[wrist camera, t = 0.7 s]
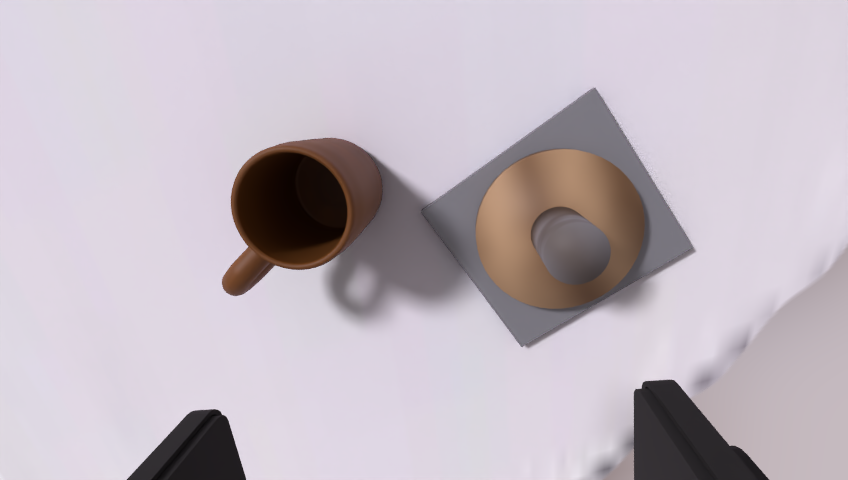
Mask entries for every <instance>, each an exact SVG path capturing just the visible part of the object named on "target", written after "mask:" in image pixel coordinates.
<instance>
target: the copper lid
mask: <svg viewBox="0 0 848 480" xmlns="http://www.w3.org/2000/svg"><path fill="white" fill-rule="evenodd" d="M475 228H476V243H477V249H478V253H479V257H480V260H481V262H482V264H483V266H484V269H485V270H486V272H487V274H488V275H489V277H490V278H491V279H492V280H493V282H494V283H495V284H496V285H497V286H498V287H499V288H500V289H501V290H503V291H504V292H505V293H507V294H508V295H509V296H511V297H512V298H514V299H516V300H518V301H520V302H523V303H525V304H528V305H531V306H536V307H540V308H549V309H562V308H570V307H575V306H579V305H582V304H585V303H588V302H591V301H593V300H595V299H597V298H599V297H601V296H602V295H604V294H605V293H607V292H608V291H610V290H611V289H612V288H614V287H615V286H616V285H617V284H618V283H619V282H620V281H621V280H622V279H623V278H624V277H625V276H626V274H627V273H628V272H629V270H630V269H631V268H632V266H633V264H634V262H635V261H636V259H637V257H638V254H639V252H640V249H641V246H642V242H643V238H644V229H645V219H644V211H643V206H642V203H641V200H640V197H639V194H638V192H637V191H636V189H635V187H634V185H633V184H632V182H631V181H630V180H629V178H628V177H627V176H626V175H625V174H624V173H623V172H622V171H621V170H620V169H619V168H618V167H616V166H615V165H614V164H612V163H611V162H609V161H607V160H605V159H604V158H602V157H599V156H597V155H594V154H591V153H588V152H584V151H579V150H574V149H550V150H544V151H540V152H537V153H533V154H530V155H528V156H526V157H524V158H521V159H520V160H518V161H516V162H515V163H513V164H511V165H510V166H509V167H508V168H506V169H505V170H504V171H503V172H502V173H501V174H500V175H499V176H498V177H497V178H496V179H495V180H494V181H493V182H492V184H491V185H490V186H489V188H488V189H487V191H486V193H485V195H484V197H483V199H482V201H481V204H480V206H479V210H478V213H477V218H476V226H475Z"/></svg>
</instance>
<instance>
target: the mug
mask: <svg viewBox="0 0 848 480" xmlns="http://www.w3.org/2000/svg"><path fill="white" fill-rule="evenodd" d="M381 199H382V181H381V176H380V173H379V171H378V168H377V166H376V164H375V163H374V161H373V160H372V158H371V157H370V156H369V155H368V154H367V153H366V152H365V151H364V150H363V149H361V148H360V147H359V146H357V145H355V144H353V143H351V142H349V141H346V140H343V139H337V138H323V139H311V140H302V141H293V142H287V143H283V144H279V145H276V146H274V147H270V148H267V149H265V150H262V151H260V152H259V153H257V154H255V155H254V156H252V157H251V158H250V159H249V160H248V161H247V162H246V163H245V164H244V165H243V166H242V168H241V169H240V171H239V172H238V174H237V177H236V179H235V181H234V185H233V188H232V194H231V209H232V215H233V219H234V222H235V225H236V228H237V230H238V232H239V234H240V235H241V237H242V238H243V240H244V241H245V243H246V244H247V245H248V246H249V247H248V248H247V249H246V250H245V251H244V252H243V253H242V254H241V255H240V257H239V258H238V259H237V260H236V261H235V262H234V263H233V264H232V265H231V267H230V268H229V269H228V270H227V272H226V273H225V275H224V276H223V279H222V285H223V289H224V290H225V291H226V293H228V294H230V295H233V296H238V295H242V294H244V293H246V292H247V291H248V290H250V289H251V288H252V287H253V286H254V285H256V284H257V283H258V282H259V281H260V280H261V279H262V278H263V277H264V276H265V275H266V274H267V273H268V272H269V271H270V270H271V269H272V268H273V267H274V266H275V265H276V266H280V267H283V268H288V269H295V270H304V269H311V268H316V267H318V266H321V265H323V264H325V263H327V262H329V261H331V260H332V259H333V258H335V257H336V256H337V255H339V254H340V253H341V252H343V251H344V250H345V249H346V248H347V247H348V246H349V245H350V244H351V243H352V242H353V241H354V240H355V239H356V238H357V237H358V236H359V234H360V233H361V232H362V231H363V230H364V228H365V227H366V226H367V225H368V224H369V223H370V221H371V220H372V219H373V218H374V216H375V214H376V213H377V211H378V208H379V206H380V203H381Z"/></svg>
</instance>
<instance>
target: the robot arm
mask: <svg viewBox="0 0 848 480" xmlns="http://www.w3.org/2000/svg"><path fill="white" fill-rule="evenodd" d="M127 480H246V477H245V474H244V471H243V467H242V464H241V461H240V458H239V454H238V451H237V448H236V444H235V441H234V438H233V435H232V431H231V428H230V425H229V421H228V419H227V417H226V416H224V415H222V414H221V412H220V411H219V410H216V409H213V410H197V411H192V412H190V413H189V414H188V415H187V416H186V417H185V418H184V419H183V420H182V421H181V422H180V423H179V424H178V425H177V426H176V427H175V429H174V430H173V431H172V432H171V433H170V434H169V435H168V436H167V437H166V438H165V439H164V440H163V441H162V443H161V444H160V445H159V446H158V447H157V448H156V449H155V450H154V451H153V452H152V453H151V454H150V455H149V456H148V458H147V459H146V460H145V461H144V462H143V463H142V464H141V465H140V466H139V467H138V468H137V469H136V470H135V471H134V473H133V474H132V475H131V476H130V477H129V478H128V479H127ZM634 480H769V479H768V478H767V477H766V476H765V475H764V474H763V472H762V471H761V470H760V469H759V468H758V467H757V465H756V464H755V463H754V462H753V461H752V460H751V459H750V457H749V456H748V455H747V454H746V453H745V452H744V451H743V450H742V449H740V448H738V447H736V446H729V445H728V444H727V442H726V441H725V440H724V439H723V438H722V436H721V435H720V434H719V433H718V432H717V431H716V429H715V428H714V427H713V426H712V425H711V423H710V422H709V421H708V420H707V418H706V417H705V416H704V415H703V414H702V413H701V411H700V410H699V409H698V408H697V407H696V405H695V404H694V403H693V402H692V400H691V399H690V398H689V397H688V396H687V394H686V393H685V392H684V391H683V390H682V388H681V387H680V386H679V385H678V384H677V383H676V382H675V381H674V380H659V381H645V382H643V384H642V389H636V390H635V391H634Z"/></svg>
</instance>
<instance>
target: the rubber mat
mask: <svg viewBox="0 0 848 480" xmlns="http://www.w3.org/2000/svg"><path fill="white" fill-rule="evenodd" d="M550 149H574V150H579V151H584V152H588V153H591V154H594V155H597V156H599V157H602V158H604V159H605V160H607V161H609V162H611V163H612V164H614V165H615V166H616V167H618V168H619V169H620V170H621V171H622V172H623V173H624V174H625V175H626V176H627V177H628V178H629V180H630V181H631V182H632V184H633V185H634V187H635V189H636V191H637V192H638V194H639V197H640V200H641V203H642V206H643V211H644V219H645V229H644V238H643V242H642V246H641V249H640V252H639V254H638V257H637V259H636V261H635V262H634V264H633V266H632V268H631V269H630V270H629V272H628V273H627V274H626V276H625V277H624V278H623V279H622V280H621V281H620V282H619V283H618V284H617V285H616V286H615V287H614V288H612V289H611V290H610V291H608V292H607V293H605V294H604V295H602V296H601V297H599V298H597V299H595V300H593V301H591V302H588V303H585V304H582V305H579V306H575V307H570V308H562V309H549V308H540V307H536V306H531V305H528V304H525V303H523V302H520V301H518V300H516V299H514V298H512V297H511V296H509V295H508V294H507V293H505V292H504V291H503V290H501V289H500V288H499V287H498V286H497V285H496V284H495V283H494V282H493V280H492V279H491V278H490V277H489V275H488V274H487V272H486V270H485V269H484V266H483V264H482V262H481V260H480V257H479V253H478V249H477V243H476V228H475V226H476V218H477V213H478V210H479V206H480V204H481V201H482V199H483V197H484V195H485V193H486V191H487V189H488V188H489V186H490V185H491V184H492V182H493V181H494V180H495V179H496V178H497V177H498V176H499V175H500V174H501V173H502V172H503V171H504V170H505V169H506V168H508V167H509V166H510V165H511V164H513V163H515V162H516V161H518V160H520V159H521V158H524V157H526V156H528V155H530V154H533V153H537V152H540V151H544V150H550ZM421 213H422V214H423V215H424V217H425V218H426V219H427V221H428V222H429V223H430V225H431V226H432V227H433V229H434V230H435V231H436V233H437V234H438V235H439V237H440V238H441V239H442V241H443V242H444V243H445V245H446V246H447V248H448V249H449V250H450V252H451V253H452V254H453V256H454V257H455V258H456V260H457V261H458V262H459V264H460V265H461V266H462V268H463V269H464V270H465V272H466V273H467V274H468V276H469V277H470V278H471V280H472V281H473V282H474V284H475V285H476V286H477V288H478V289H479V291H480V292H481V293H482V295H483V296H484V297H485V299H486V300H487V301H488V303H489V304H490V305H491V307H492V308H493V309H494V311H495V312H496V313H497V315H498V316H499V317H500V319H501V320H502V321H503V323H504V324H505V325H506V327H507V328H508V329H509V331H510V332H511V334H512V335H513V336H514V338H515V339H516V340H517V342H518V343H519V344H520V346H521V347H523V346H524V345H526V344H528V343H530V342H531V341H533V340H535V339H536V338H538V337H540V336H542V335H543V334H545V333H547V332H548V331H550V330H552V329H554V328H555V327H557V326H559V325H561V324H562V323H564V322H566V321H567V320H569V319H571V318H573V317H574V316H576V315H578V314H580V313H581V312H583V311H585V310H586V309H588V308H590V307H592V306H593V305H595V304H597V303H598V302H600V301H602V300H604V299H605V298H607V297H609V296H611V295H612V294H614V293H616V292H617V291H619V290H621V289H623V288H624V287H626V286H628V285H630V284H631V283H633V282H635V281H636V280H638V279H640V278H642V277H643V276H645V275H647V274H648V273H650V272H652V271H654V270H655V269H657V268H659V267H661V266H662V265H664V264H666V263H667V262H669V261H671V260H673V259H674V258H676V257H678V256H680V255H681V254H683V253H685V252H686V251H688V250H690V249H692V248H693V246H692V244H691V243H690V241H689V239H688V238H687V236H686V235H685V233H684V231H683V230H682V228H681V226H680V225H679V223H678V222H677V220H676V218H675V217H674V215H673V213H672V212H671V210H670V208H669V207H668V205H667V204H666V202H665V200H664V199H663V197H662V195H661V194H660V192H659V191H658V189H657V187H656V186H655V184H654V182H653V181H652V179H651V178H650V176H649V174H648V173H647V171H646V169H645V168H644V166H643V165H642V163H641V161H640V160H639V158H638V156H637V155H636V153H635V152H634V150H633V148H632V147H631V145H630V143H629V142H628V140H627V138H626V137H625V135H624V134H623V132H622V130H621V129H620V127H619V125H618V124H617V122H616V121H615V119H614V117H613V116H612V114H611V112H610V111H609V109H608V108H607V106H606V104H605V103H604V101H603V99H602V98H601V96H600V95H599V93H598V91H597V90H596V88H593V89H591V90H590V91H588V92H587V93H585V94H584V95H583V96H581V97H580V98H578V99H577V100H576V101H574V102H573V103H571V104H570V105H569V106H567V107H566V108H564V109H563V110H562V111H560V112H559V113H557V114H556V115H554V116H553V117H552V118H550V119H549V120H547V121H546V122H545V123H543V124H542V125H540V126H539V127H538V128H536V129H535V130H533V131H532V132H531V133H529V134H528V135H526V136H525V137H524V138H522V139H521V140H519V141H518V142H517V143H515V144H514V145H512V146H511V147H510V148H508V149H507V150H505V151H504V152H503V153H501V154H500V155H498V156H497V157H496V158H494V159H493V160H491V161H490V162H489V163H487V164H486V165H484V166H483V167H482V168H480V169H479V170H477V171H476V172H475V173H473V174H472V175H470V176H469V177H468V178H466V179H465V180H463V181H462V182H461V183H459V184H458V185H456V186H455V187H454V188H452V189H451V190H449V191H448V192H447V193H445V194H444V195H442V196H441V197H439V198H438V199H437V200H435V201H434V202H432V203H431V204H430V205H428V206H427V207H425V208H424V209H423V210H422V211H421Z"/></svg>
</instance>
